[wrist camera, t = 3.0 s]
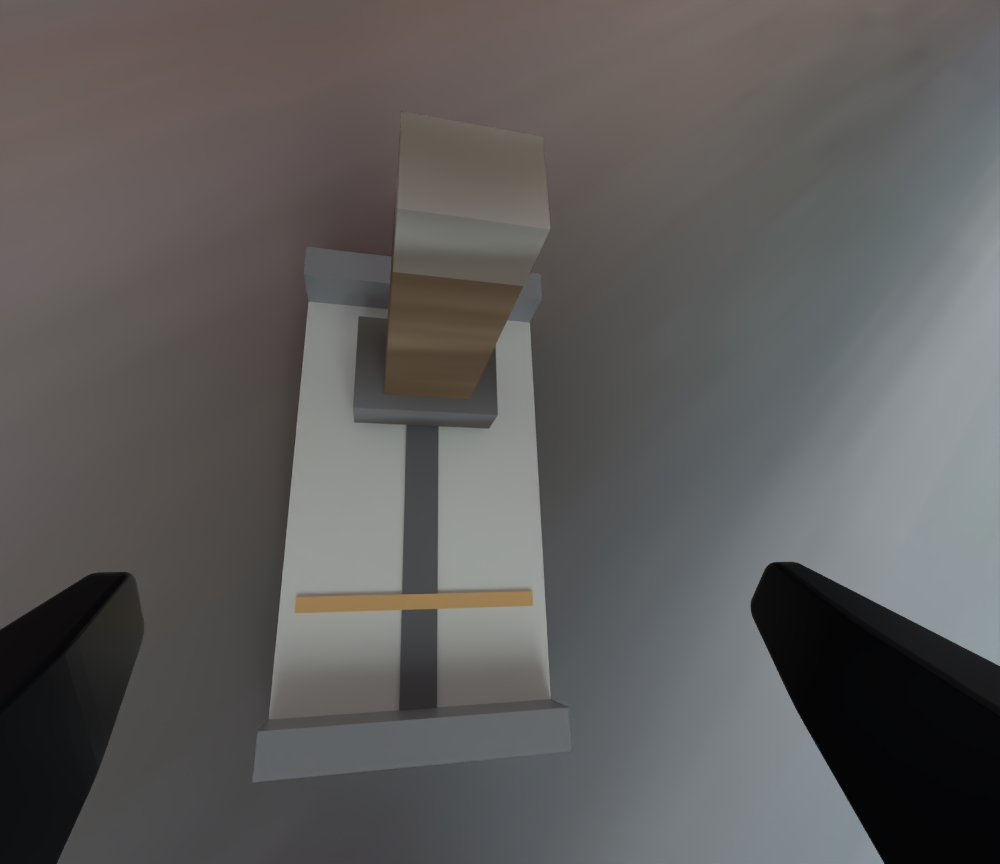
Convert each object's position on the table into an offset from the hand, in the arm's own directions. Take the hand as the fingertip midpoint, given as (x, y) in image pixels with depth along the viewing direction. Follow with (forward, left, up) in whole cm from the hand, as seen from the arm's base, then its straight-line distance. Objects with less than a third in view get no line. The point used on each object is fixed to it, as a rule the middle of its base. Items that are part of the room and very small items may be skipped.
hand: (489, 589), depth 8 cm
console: (+3, -2, -14) cm, 14 cm away
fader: (+7, -5, -11) cm, 14 cm away
